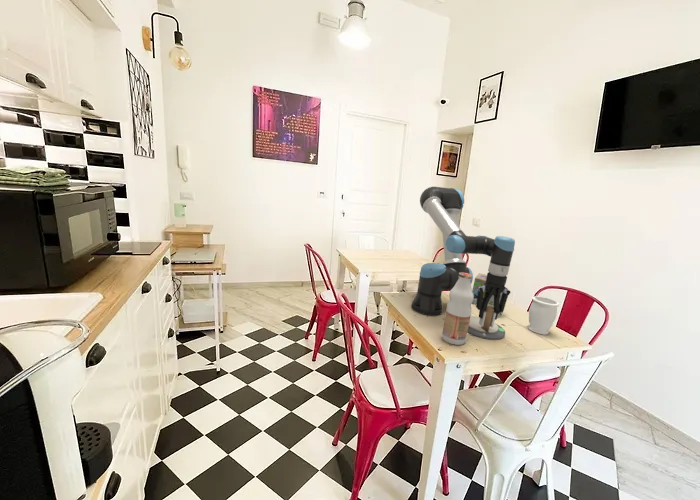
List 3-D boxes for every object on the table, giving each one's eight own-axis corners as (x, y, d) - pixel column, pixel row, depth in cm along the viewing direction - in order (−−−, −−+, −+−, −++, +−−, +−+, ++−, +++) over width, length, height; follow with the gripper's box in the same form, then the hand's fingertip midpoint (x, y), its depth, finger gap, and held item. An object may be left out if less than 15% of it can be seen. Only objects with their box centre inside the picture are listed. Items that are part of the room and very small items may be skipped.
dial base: (459, 333, 131) (459, 330, 131) (455, 315, 150) (456, 313, 150) (509, 343, 127) (510, 340, 126) (499, 324, 146) (500, 321, 145)
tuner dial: (461, 317, 146) (465, 294, 143) (492, 321, 144) (497, 299, 142) (469, 332, 130) (474, 307, 128) (504, 337, 129) (509, 312, 126)
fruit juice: (438, 340, 123) (450, 273, 117) (444, 331, 131) (455, 269, 126) (463, 348, 119) (476, 279, 113) (466, 338, 127) (479, 274, 121)
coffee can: (478, 307, 165) (483, 282, 162) (498, 310, 164) (503, 285, 161) (484, 315, 155) (490, 288, 152) (505, 318, 154) (511, 291, 151)
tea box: (488, 308, 165) (494, 282, 162) (469, 303, 170) (474, 277, 167) (492, 300, 178) (497, 276, 175) (473, 296, 183) (478, 272, 180)
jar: (520, 326, 146) (527, 296, 143) (535, 324, 150) (542, 295, 146) (540, 337, 136) (548, 305, 133) (556, 335, 140) (564, 304, 137)
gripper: (481, 274, 123) (470, 327, 128) (522, 278, 124) (508, 331, 129) (474, 269, 131) (463, 319, 136) (512, 273, 132) (500, 323, 137)
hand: (485, 325), depth 132 cm, fingers open, 4 cm apart
